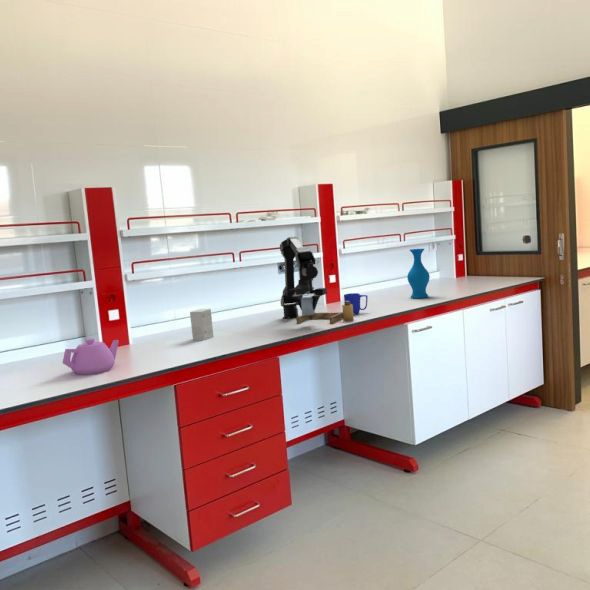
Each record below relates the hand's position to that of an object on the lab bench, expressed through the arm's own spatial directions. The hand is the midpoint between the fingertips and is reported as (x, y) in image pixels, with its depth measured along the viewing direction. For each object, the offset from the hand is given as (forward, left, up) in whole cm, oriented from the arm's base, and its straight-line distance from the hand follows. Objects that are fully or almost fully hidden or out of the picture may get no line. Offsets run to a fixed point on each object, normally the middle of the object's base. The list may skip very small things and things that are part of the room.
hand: (308, 310), depth 286 cm
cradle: (0, +12, -8) cm, 14 cm away
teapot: (-48, -90, -8) cm, 102 cm away
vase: (+30, +89, -8) cm, 94 cm away
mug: (+11, +35, -8) cm, 37 cm away
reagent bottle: (+14, +15, -8) cm, 22 cm away
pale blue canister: (0, +1, -2) cm, 2 cm away
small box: (-39, -31, -8) cm, 50 cm away
